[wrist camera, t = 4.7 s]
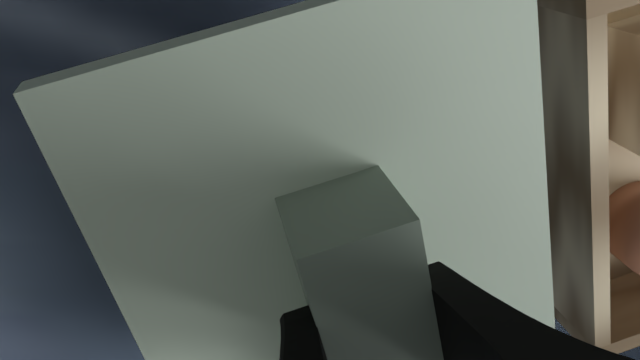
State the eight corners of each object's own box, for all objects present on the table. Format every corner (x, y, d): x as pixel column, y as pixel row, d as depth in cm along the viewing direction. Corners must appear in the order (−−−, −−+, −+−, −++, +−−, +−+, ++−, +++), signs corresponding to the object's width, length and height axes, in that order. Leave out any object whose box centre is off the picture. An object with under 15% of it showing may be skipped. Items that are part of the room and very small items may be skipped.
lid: (531, 367, 20) (612, 473, 16) (223, 478, 19) (237, 618, 15) (495, -62, 14) (615, -44, 10) (29, 71, 12) (-26, 145, 9)
